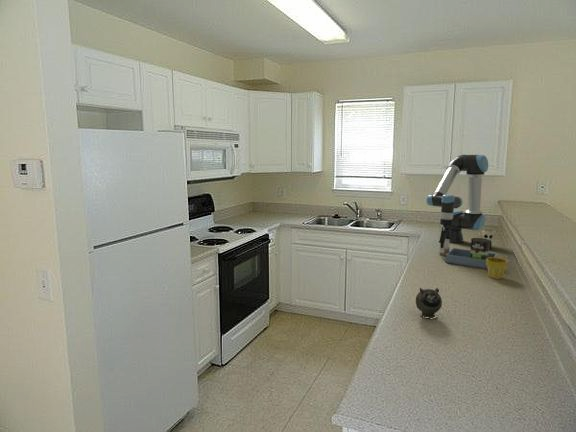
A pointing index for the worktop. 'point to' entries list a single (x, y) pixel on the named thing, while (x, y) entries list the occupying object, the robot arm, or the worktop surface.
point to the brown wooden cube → (445, 251)
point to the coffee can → (479, 248)
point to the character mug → (488, 236)
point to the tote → (466, 258)
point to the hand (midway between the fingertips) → (444, 250)
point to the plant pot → (496, 267)
